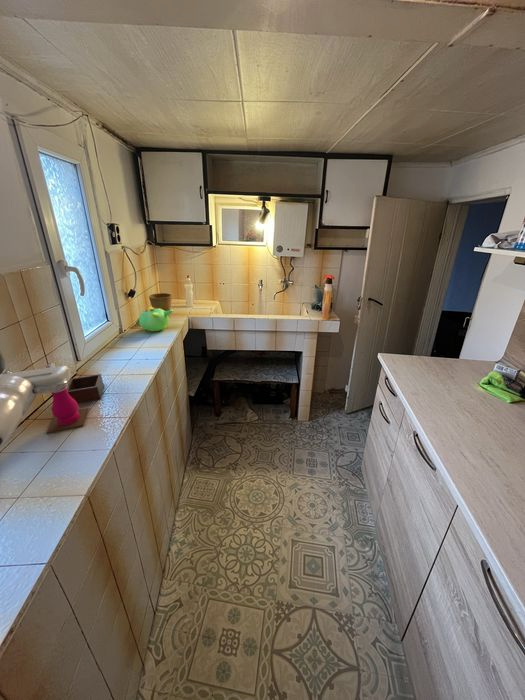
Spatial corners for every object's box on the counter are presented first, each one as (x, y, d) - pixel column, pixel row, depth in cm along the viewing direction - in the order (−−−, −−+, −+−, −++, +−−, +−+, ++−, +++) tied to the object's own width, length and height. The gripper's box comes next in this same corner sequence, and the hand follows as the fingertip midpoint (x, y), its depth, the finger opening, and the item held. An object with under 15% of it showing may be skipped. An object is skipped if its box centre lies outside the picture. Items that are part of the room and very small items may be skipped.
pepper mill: (63, 429, 91) (43, 375, 82) (51, 422, 94) (31, 369, 86) (86, 416, 96) (69, 365, 88) (74, 410, 100) (57, 360, 91)
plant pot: (153, 322, 190) (149, 298, 184) (151, 315, 203) (148, 294, 196) (175, 319, 196) (172, 296, 189) (173, 313, 208) (170, 292, 202)
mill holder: (100, 399, 107) (97, 386, 105) (68, 405, 103) (64, 392, 101) (104, 385, 116) (100, 373, 114) (74, 390, 112) (70, 378, 110)
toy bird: (157, 324, 187) (153, 302, 181) (176, 327, 180) (173, 305, 174) (135, 332, 172) (130, 309, 166) (155, 337, 165) (151, 313, 159)
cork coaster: (47, 433, 89) (46, 432, 89) (55, 415, 98) (55, 414, 98) (83, 426, 93) (82, 424, 92) (88, 409, 101) (87, 407, 101)
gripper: (59, 375, 65) (72, 352, 76) (-57, 393, 58) (-23, 364, 70) (67, 398, 67) (78, 372, 79) (-43, 418, 60) (-13, 386, 72)
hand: (30, 368), depth 74 cm, fingers open, 8 cm apart
